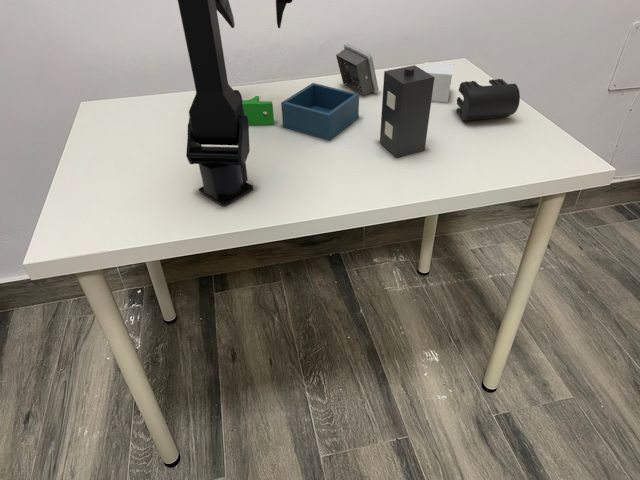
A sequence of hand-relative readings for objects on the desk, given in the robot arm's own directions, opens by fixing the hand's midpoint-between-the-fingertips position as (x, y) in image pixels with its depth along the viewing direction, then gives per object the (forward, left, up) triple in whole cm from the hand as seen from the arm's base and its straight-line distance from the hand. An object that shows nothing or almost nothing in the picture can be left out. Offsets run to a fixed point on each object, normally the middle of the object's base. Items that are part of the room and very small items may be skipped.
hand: (256, 26), depth 93 cm
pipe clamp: (-8, -4, -16) cm, 18 cm away
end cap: (+23, -40, -16) cm, 49 cm away
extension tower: (+3, -34, -16) cm, 37 cm away
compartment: (+1, -16, -16) cm, 22 cm away
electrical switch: (+18, -12, -16) cm, 26 cm away
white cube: (+26, -27, -16) cm, 40 cm away
